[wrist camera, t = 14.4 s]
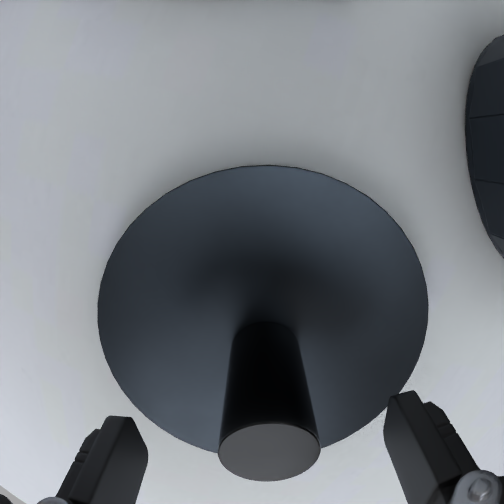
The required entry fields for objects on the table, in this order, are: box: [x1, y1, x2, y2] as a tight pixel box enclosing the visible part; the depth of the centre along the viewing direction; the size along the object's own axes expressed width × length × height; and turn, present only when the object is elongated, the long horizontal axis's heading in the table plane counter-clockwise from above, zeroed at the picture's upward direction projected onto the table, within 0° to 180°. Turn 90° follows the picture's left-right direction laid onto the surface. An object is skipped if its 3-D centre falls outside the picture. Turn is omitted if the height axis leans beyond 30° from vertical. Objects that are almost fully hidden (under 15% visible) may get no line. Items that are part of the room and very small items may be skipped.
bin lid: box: [98, 165, 428, 481], centre depth 11 cm, size 16×16×7 cm
